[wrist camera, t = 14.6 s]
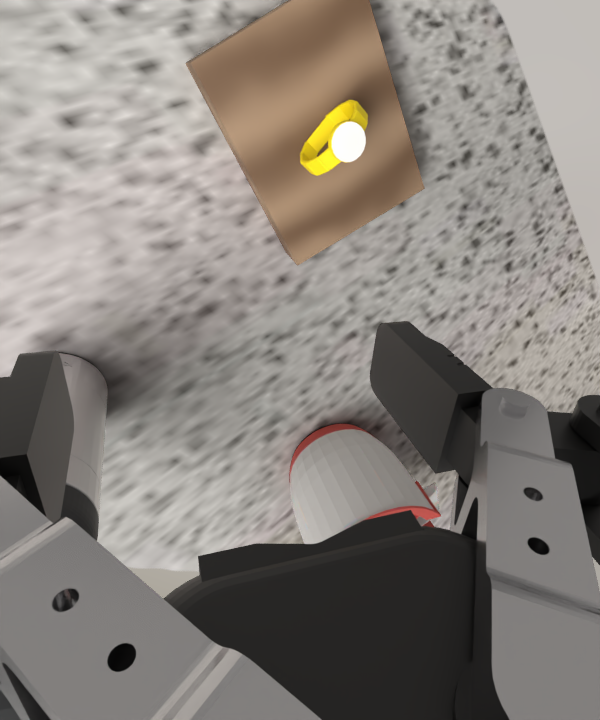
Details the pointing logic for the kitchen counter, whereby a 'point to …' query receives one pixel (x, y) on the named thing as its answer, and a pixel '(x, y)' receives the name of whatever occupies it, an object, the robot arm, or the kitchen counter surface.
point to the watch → (336, 138)
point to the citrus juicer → (351, 483)
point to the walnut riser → (310, 118)
